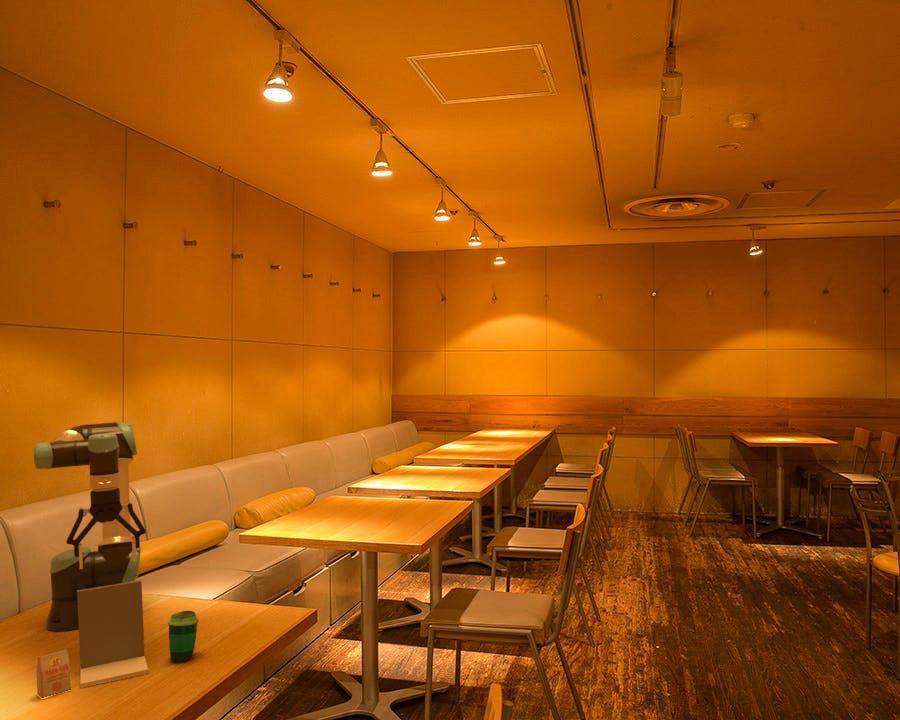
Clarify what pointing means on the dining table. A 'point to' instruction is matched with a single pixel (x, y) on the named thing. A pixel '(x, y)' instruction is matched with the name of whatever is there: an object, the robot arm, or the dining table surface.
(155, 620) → the dining table surface
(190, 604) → the dining table surface
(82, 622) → the stand
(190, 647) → the cup
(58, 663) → the tea bag
